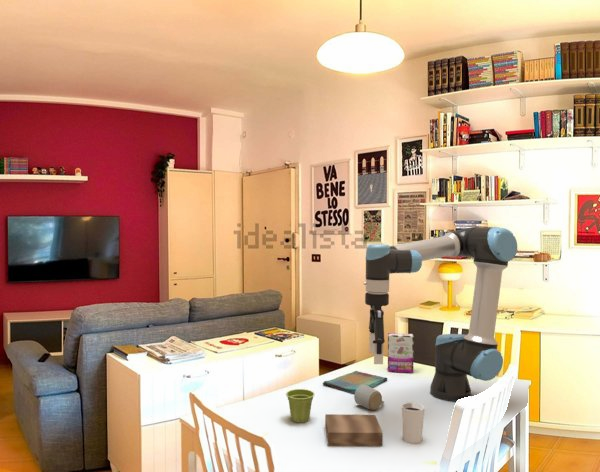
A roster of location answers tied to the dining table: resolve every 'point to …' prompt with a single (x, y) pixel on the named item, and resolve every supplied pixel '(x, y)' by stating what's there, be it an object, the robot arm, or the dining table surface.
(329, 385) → the dish towel
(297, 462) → the dining table surface
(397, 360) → the candy bar box
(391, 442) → the dining table surface
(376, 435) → the walnut riser block
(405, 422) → the beige hollow cylinder
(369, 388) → the ceramic mug
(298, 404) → the plant pot
